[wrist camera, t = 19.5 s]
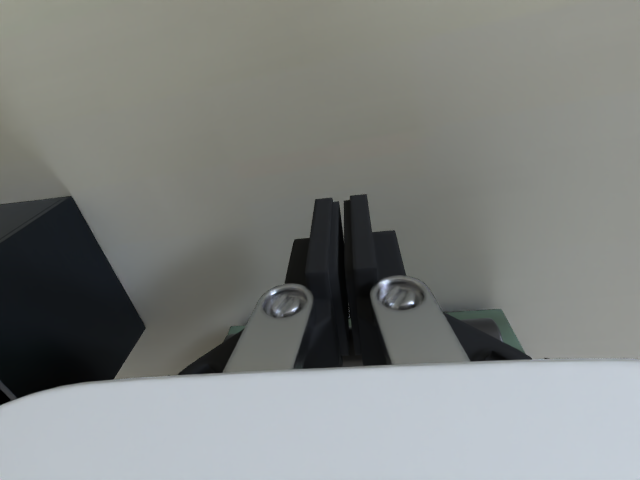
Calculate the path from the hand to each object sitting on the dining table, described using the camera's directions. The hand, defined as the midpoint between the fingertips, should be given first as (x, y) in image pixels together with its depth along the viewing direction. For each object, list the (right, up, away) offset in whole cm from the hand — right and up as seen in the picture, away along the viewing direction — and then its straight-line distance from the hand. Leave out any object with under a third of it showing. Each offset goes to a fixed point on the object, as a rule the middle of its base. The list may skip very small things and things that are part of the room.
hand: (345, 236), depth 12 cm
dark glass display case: (-13, -2, +6) cm, 15 cm away
